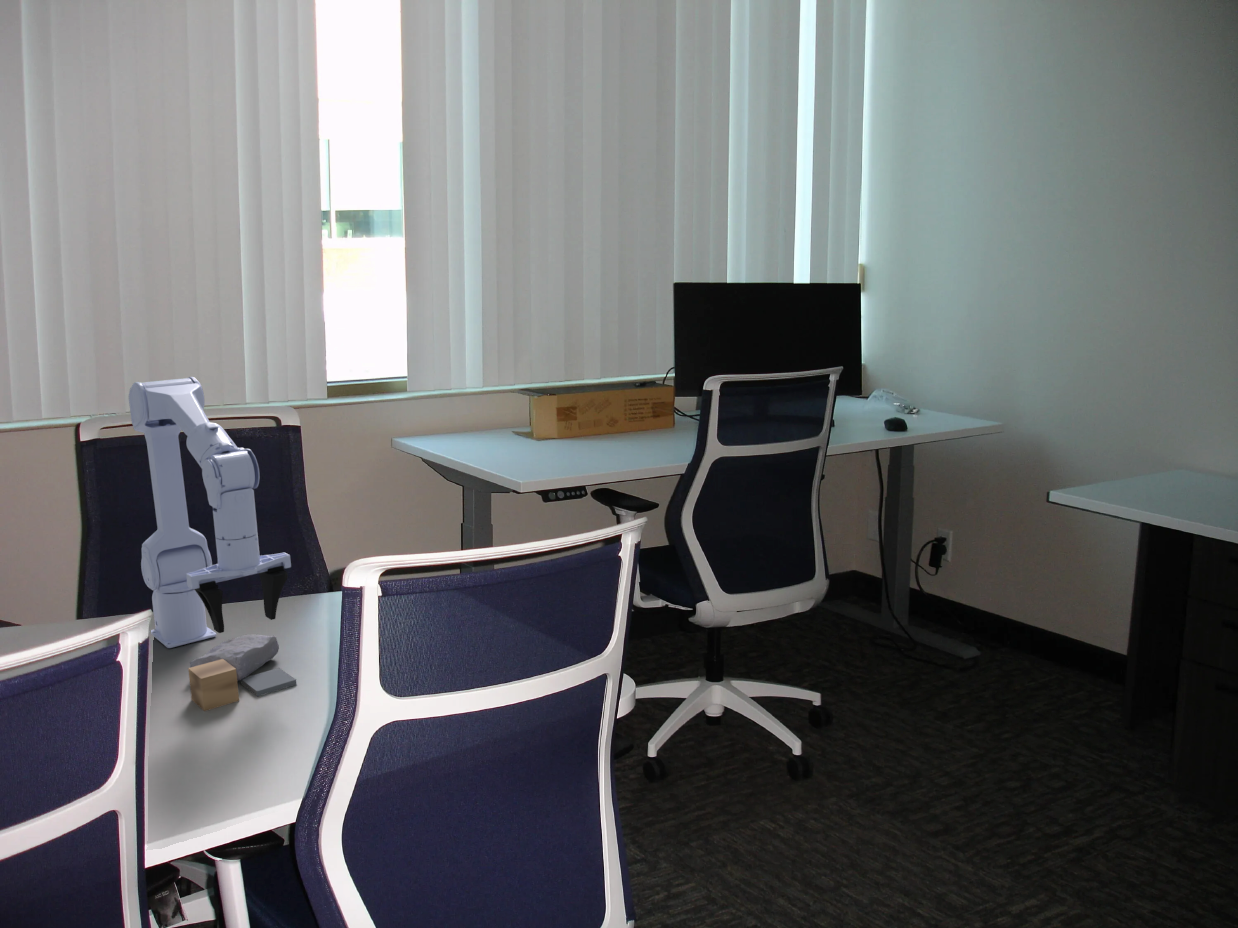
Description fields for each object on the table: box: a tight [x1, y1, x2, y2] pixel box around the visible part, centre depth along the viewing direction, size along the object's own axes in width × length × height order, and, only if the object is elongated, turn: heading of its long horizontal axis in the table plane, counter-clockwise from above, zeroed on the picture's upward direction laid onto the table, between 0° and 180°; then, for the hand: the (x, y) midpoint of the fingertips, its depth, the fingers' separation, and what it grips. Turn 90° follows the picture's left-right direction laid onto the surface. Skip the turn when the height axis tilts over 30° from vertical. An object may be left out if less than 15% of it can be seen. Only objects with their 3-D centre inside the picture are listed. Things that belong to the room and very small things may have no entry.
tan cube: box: [187, 659, 240, 712], centre depth 151 cm, size 5×5×5 cm
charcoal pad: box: [240, 667, 297, 697], centre depth 157 cm, size 6×6×1 cm
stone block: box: [189, 633, 280, 682], centre depth 162 cm, size 12×5×10 cm
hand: (245, 624), depth 153 cm, fingers open, 7 cm apart
